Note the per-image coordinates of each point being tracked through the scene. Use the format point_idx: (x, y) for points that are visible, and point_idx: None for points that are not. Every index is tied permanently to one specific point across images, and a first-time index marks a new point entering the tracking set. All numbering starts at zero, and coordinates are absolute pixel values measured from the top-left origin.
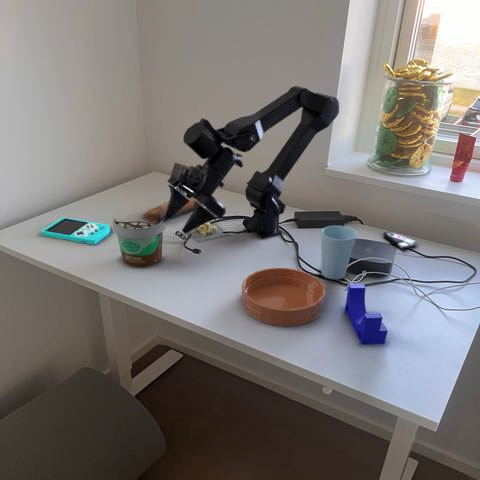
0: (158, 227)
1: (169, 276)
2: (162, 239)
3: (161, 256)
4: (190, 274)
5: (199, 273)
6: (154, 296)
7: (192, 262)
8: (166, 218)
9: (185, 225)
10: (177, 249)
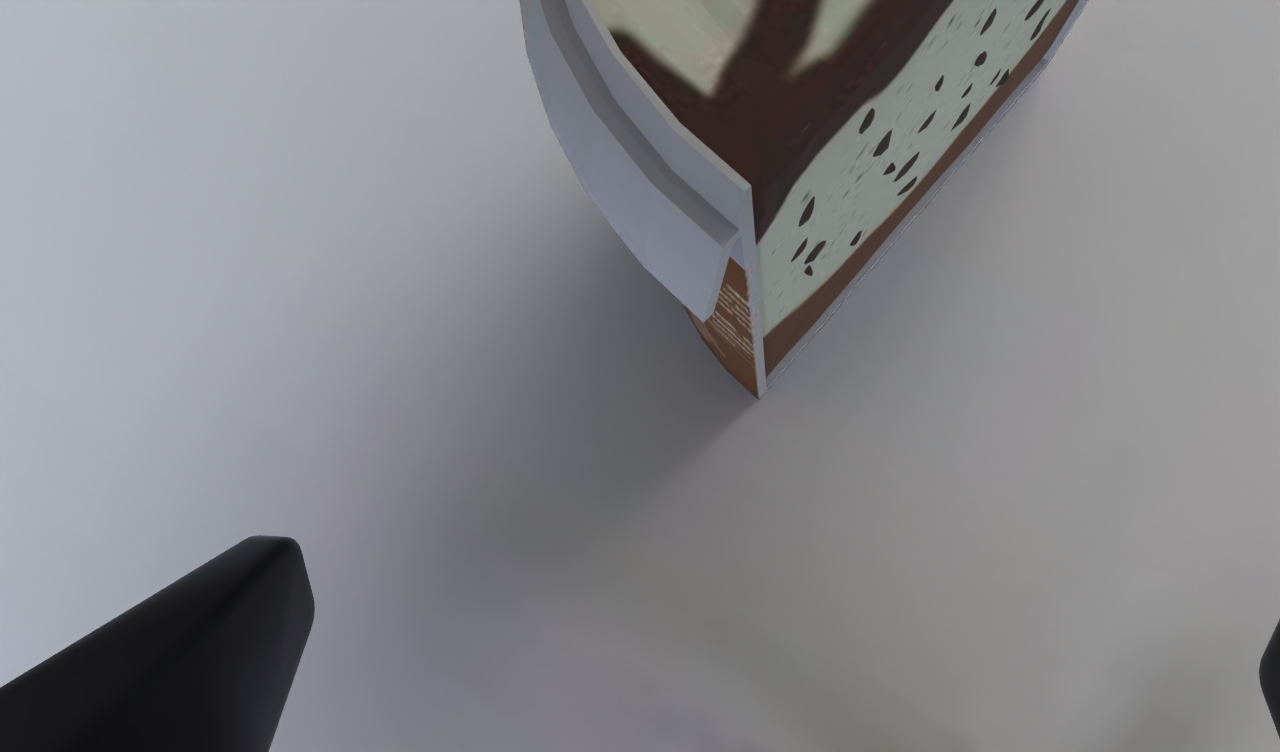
0: (544, 19)
1: (338, 276)
2: (752, 338)
3: (740, 376)
4: (221, 491)
5: None
6: (125, 2)
7: (448, 682)
8: (1278, 637)
9: (173, 615)
10: (902, 720)
